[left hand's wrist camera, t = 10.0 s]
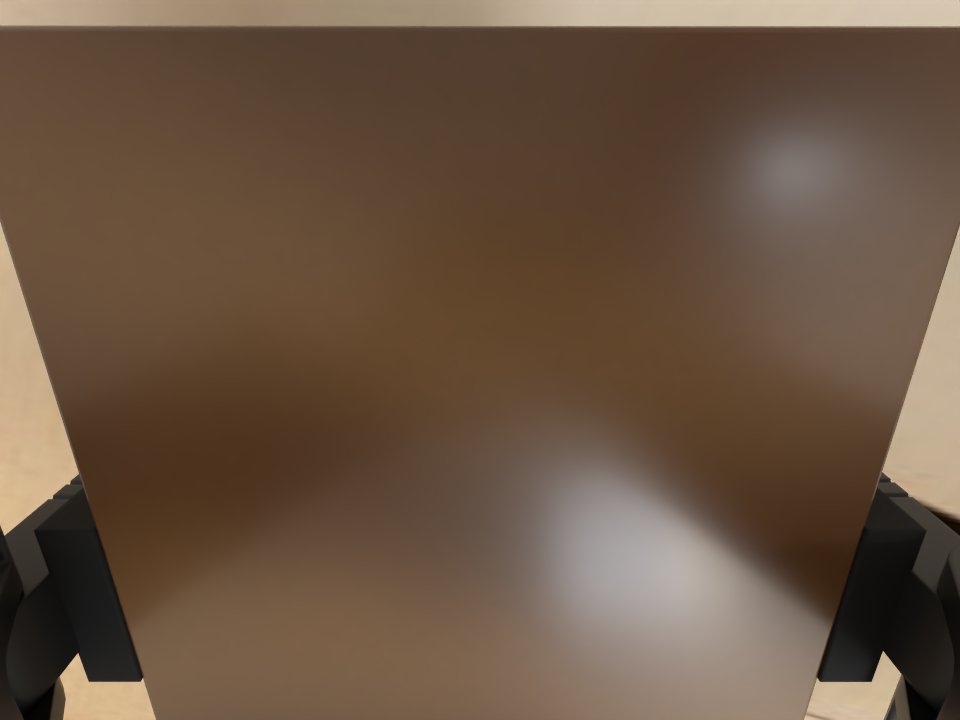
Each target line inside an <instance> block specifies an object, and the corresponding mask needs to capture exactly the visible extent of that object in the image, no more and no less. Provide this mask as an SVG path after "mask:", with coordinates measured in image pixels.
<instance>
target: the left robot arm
mask: <svg viewBox="0 0 960 720" xmlns="http://www.w3.org/2000/svg"><path fill="white" fill-rule="evenodd" d="M883 651H884V652H885V654H886V655H887V656H888V657H889V659H890V660H891V661H892V663H893V664H894V665H895V666H896V668H897V669H898V670H899V671H900V673H901V674H902V675H901V677H900V680H899V682H898V685H897V687H896V690H895V692H894V695H893V698H892V700H891V703H890V705H889V708H888V710H887V713H886V715H885V718H884V720H960V536H959V535H958V534H957V533H955V532H954V531H953V530H952V529H950V528H949V527H948V526H947V525H946V524H944V523H943V522H942V521H941V520H940V519H938V518H937V517H936V516H935V515H933V514H932V513H931V512H930V511H929V510H927V509H926V508H925V507H924V506H923V505H921V504H920V503H919V502H918V501H916V500H915V499H914V498H913V497H908V493H907V492H905V491H904V490H903V489H902V488H901V487H899V486H898V485H897V484H896V483H891V481H890V478H888V477H887V476H886V475H885V474H884V473H881V476H880V479H879V483H878V486H877V489H876V492H875V495H874V498H873V502H872V505H871V508H870V511H869V514H868V517H867V521H866V524H865V527H864V530H863V533H862V537H861V540H860V543H859V546H858V549H857V552H856V556H855V559H854V562H853V565H852V568H851V571H850V575H849V578H848V581H847V584H846V587H845V590H844V594H843V597H842V600H841V603H840V606H839V610H838V613H837V616H836V619H835V622H834V625H833V629H832V632H831V635H830V638H829V641H828V644H827V648H826V651H825V654H824V657H823V660H822V663H821V667H820V670H819V673H818V676H817V678H818V679H819V681H820V682H872V679H873V676H874V674H875V671H876V668H877V666H878V663H879V660H880V657H881V655H882V652H883ZM77 653H79V656H80V659H81V661H82V664H83V667H84V670H85V672H86V675H87V678H88V681H89V682H141V680H142V678H143V676H142V672H141V669H140V666H139V663H138V660H137V656H136V653H135V650H134V647H133V644H132V640H131V637H130V634H129V631H128V628H127V624H126V621H125V618H124V615H123V612H122V608H121V605H120V602H119V599H118V596H117V592H116V589H115V586H114V583H113V580H112V577H111V573H110V570H109V567H108V564H107V561H106V557H105V554H104V551H103V548H102V545H101V541H100V538H99V535H98V532H97V529H96V525H95V522H94V519H93V516H92V513H91V509H90V506H89V503H88V500H87V497H86V493H85V490H84V487H83V484H82V481H81V477H80V474H79V475H77V476H76V477H75V478H74V479H73V480H71V483H70V485H65V486H64V487H63V488H62V489H61V490H59V491H58V492H57V493H56V494H54V495H53V499H48V500H47V501H46V502H45V503H44V504H42V505H41V506H40V507H39V508H38V509H36V510H35V511H34V512H33V513H32V514H30V515H29V516H28V517H27V518H26V519H24V520H23V521H22V522H21V523H19V524H18V525H17V526H16V527H15V528H13V529H12V530H11V531H10V532H9V533H7V534H6V535H5V536H4V534H3V531H2V529H1V526H0V720H63V715H64V707H65V700H66V698H65V693H64V688H63V685H62V682H61V680H60V677H59V676H60V675H61V674H62V672H63V671H64V670H65V669H66V667H67V666H68V665H69V664H70V662H71V661H72V660H73V659H74V657H75V656H76V655H77Z"/></svg>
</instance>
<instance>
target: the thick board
mask: <svg viewBox="0 0 960 720" xmlns="http://www.w3.org/2000/svg"><path fill="white" fill-rule="evenodd" d="M0 222H1V225H2V228H3V231H4V235H5V238H6V241H7V244H8V247H9V251H10V254H11V257H12V260H13V263H14V267H15V270H16V273H17V276H18V279H19V283H20V286H21V289H22V292H23V295H24V299H25V302H26V305H27V308H28V311H29V315H30V318H31V321H32V324H33V327H34V331H35V334H36V337H37V340H38V343H39V346H40V350H41V353H42V356H43V359H44V362H45V366H46V369H47V372H48V375H49V378H50V382H51V385H52V388H53V391H54V394H55V398H56V401H57V404H58V407H59V410H60V414H61V417H62V420H63V423H64V426H65V430H66V433H67V436H68V439H69V442H70V446H71V449H72V452H73V455H74V458H75V461H76V465H77V468H78V471H79V474H80V477H81V481H82V484H83V487H84V490H85V493H86V497H87V500H88V503H89V506H90V509H91V513H92V516H93V519H94V522H95V525H96V529H97V532H98V535H99V538H100V541H101V545H102V548H103V551H104V554H105V557H106V561H107V564H108V567H109V570H110V573H111V577H112V580H113V583H114V586H115V589H116V592H117V596H118V599H119V602H120V605H121V608H122V612H123V615H124V618H125V621H126V624H127V628H128V631H129V634H130V637H131V640H132V644H133V647H134V650H135V653H136V656H137V660H138V663H139V666H140V669H141V672H142V676H143V679H144V682H145V685H146V688H147V692H148V695H149V698H150V701H151V704H152V708H153V711H154V714H155V717H156V720H804V717H805V714H806V711H807V708H808V705H809V702H810V698H811V695H812V692H813V689H814V686H815V683H816V679H817V676H818V673H819V670H820V667H821V663H822V660H823V657H824V654H825V651H826V648H827V644H828V641H829V638H830V635H831V632H832V629H833V625H834V622H835V619H836V616H837V613H838V610H839V606H840V603H841V600H842V597H843V594H844V590H845V587H846V584H847V581H848V578H849V575H850V571H851V568H852V565H853V562H854V559H855V556H856V552H857V549H858V546H859V543H860V540H861V537H862V533H863V530H864V527H865V524H866V521H867V517H868V514H869V511H870V508H871V505H872V502H873V498H874V495H875V492H876V489H877V486H878V483H879V479H880V476H881V473H882V470H883V467H884V464H885V460H886V457H887V454H888V451H889V448H890V444H891V441H892V438H893V435H894V432H895V429H896V425H897V422H898V419H899V416H900V413H901V410H902V406H903V403H904V400H905V397H906V394H907V391H908V387H909V384H910V381H911V378H912V375H913V372H914V368H915V365H916V362H917V359H918V356H919V352H920V349H921V346H922V343H923V340H924V337H925V333H926V330H927V327H928V324H929V321H930V318H931V314H932V311H933V308H934V305H935V302H936V299H937V295H938V292H939V289H940V286H941V283H942V279H943V276H944V273H945V270H946V267H947V264H948V260H949V257H950V254H951V251H952V248H953V245H954V241H955V238H956V235H957V232H958V229H959V226H960V27H907V26H0Z"/></svg>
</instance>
